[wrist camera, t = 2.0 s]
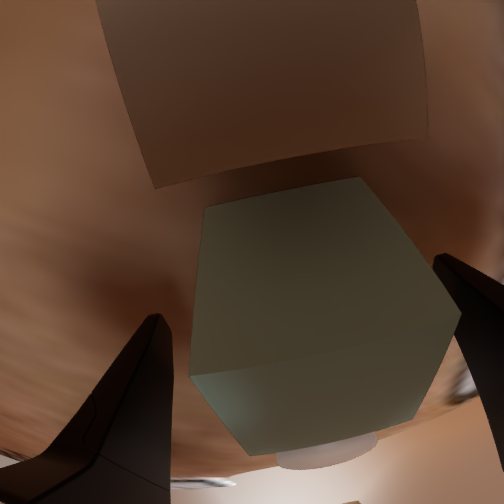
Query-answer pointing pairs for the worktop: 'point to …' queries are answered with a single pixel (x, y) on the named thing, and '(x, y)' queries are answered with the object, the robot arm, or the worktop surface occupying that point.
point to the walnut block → (264, 79)
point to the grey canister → (327, 453)
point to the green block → (314, 317)
